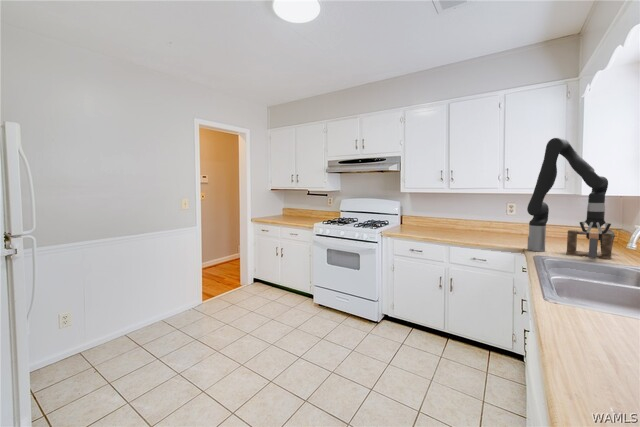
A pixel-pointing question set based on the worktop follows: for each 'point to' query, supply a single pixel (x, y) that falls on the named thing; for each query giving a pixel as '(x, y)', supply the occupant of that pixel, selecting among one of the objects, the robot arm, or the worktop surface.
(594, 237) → the peach and grey blocks
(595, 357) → the worktop surface
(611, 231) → the beverage cup
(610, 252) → the hook stand
